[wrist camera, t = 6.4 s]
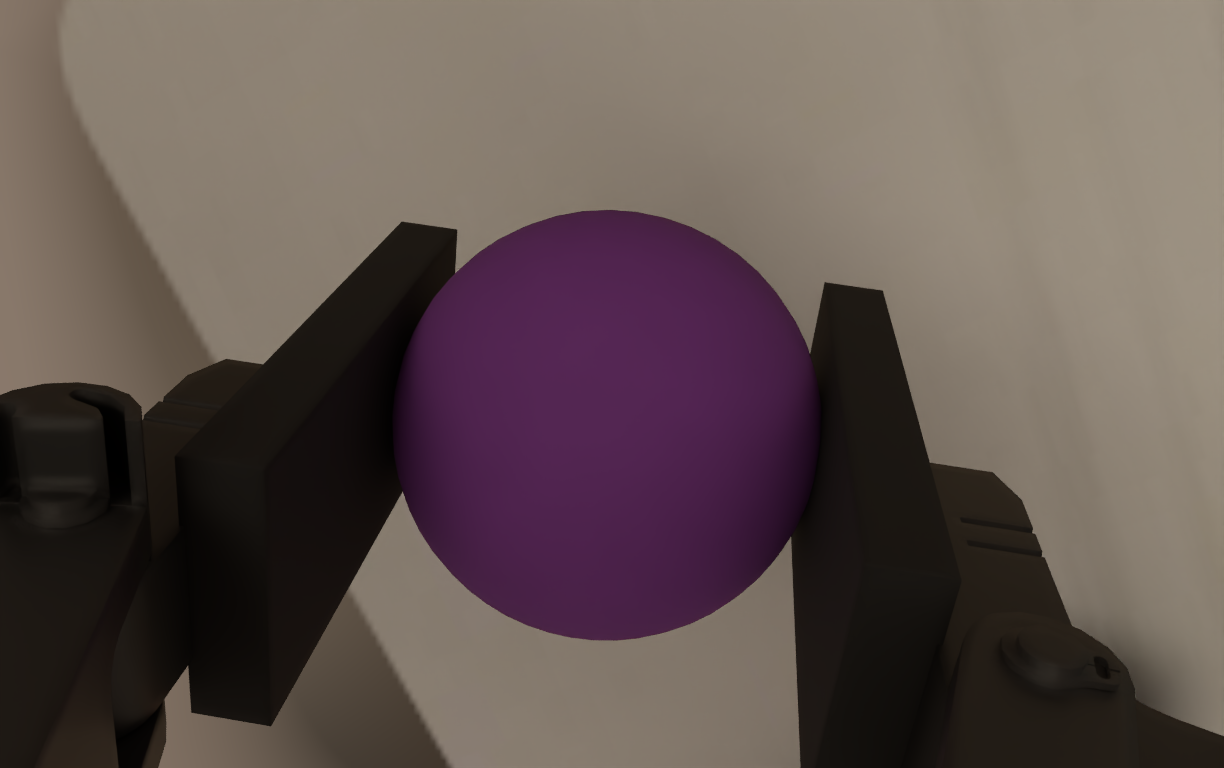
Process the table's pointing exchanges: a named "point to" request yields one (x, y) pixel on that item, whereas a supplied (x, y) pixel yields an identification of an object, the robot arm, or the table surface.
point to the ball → (607, 425)
